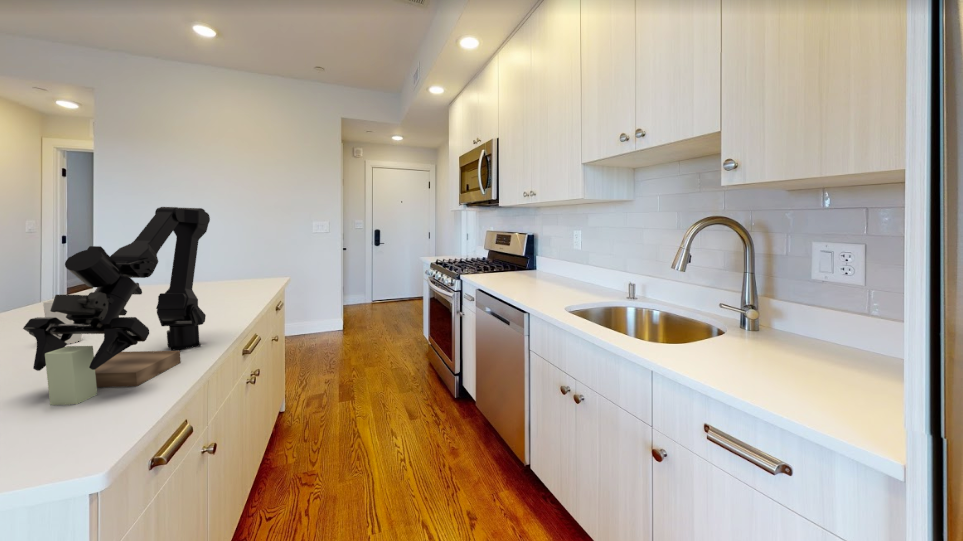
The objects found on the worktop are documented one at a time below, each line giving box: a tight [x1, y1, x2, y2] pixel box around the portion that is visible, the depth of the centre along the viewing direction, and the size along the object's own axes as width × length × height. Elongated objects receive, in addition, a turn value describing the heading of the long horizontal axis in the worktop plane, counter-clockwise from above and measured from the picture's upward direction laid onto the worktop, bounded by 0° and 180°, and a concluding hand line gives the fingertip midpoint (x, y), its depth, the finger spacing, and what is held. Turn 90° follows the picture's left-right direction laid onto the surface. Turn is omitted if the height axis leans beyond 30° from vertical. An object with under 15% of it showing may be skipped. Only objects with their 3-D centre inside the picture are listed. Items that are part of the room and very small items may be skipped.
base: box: [95, 350, 182, 388], centre depth 85 cm, size 14×14×3 cm
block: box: [45, 345, 98, 406], centre depth 72 cm, size 4×4×10 cm
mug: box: [42, 299, 83, 345], centre depth 106 cm, size 10×7×12 cm, turn 50°
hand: (64, 369), depth 71 cm, fingers open, 9 cm apart
